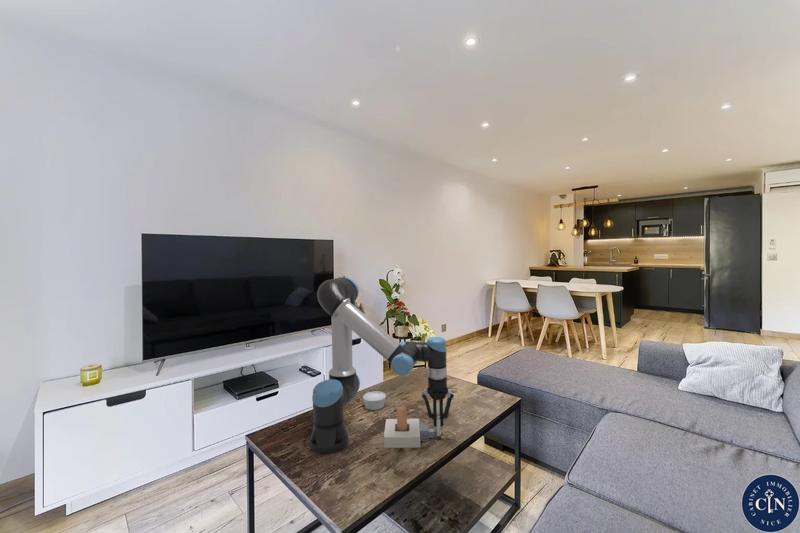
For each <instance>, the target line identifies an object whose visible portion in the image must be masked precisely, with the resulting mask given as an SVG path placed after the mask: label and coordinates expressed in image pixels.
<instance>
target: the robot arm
mask: <svg viewBox="0 0 800 533" xmlns="http://www.w3.org/2000/svg"><path fill="white" fill-rule="evenodd" d="M316 292H317V293H316V297H317V302H318V304H319V305H320V306H321V308H322V309H323V310H324V311H325V312H326V313H327V314H328V315H329V316H331V355H332V356H331V359H332V360H331V361H332V364H331V365H332V367H331V369H330V370H329V372H328V379H326V380H324V381H320V382H318V383H317V384H316V385H315V386H314V387H313V390H312V397H311V399H312V400H311V401H312V411H313V416H312V417H313V427H312V430H311V435H310V439H309V447H310V450H312V451H313V450H314V451H313V452H315V451H316V452H315V453H317V452H319V453H318V454H323V453H326V454H333V453H336V452H339V451H341V450H343V449H344V448H346V447H347V445H348V443H349V441H350V440H349V432H348V428H347V426H346V424H345V422H344V421H345V420H344V408H345V406H347V405H348V403H349V402H351V401H352V399H353V398H354V397H355V396H356V395H357V394H358V392H359V389H360V387H361V379H360V378H359V375H357V369H356V368H355V367H354V365H353V333H355V334H356V335H357V336H358V337H360V338H361V339H362V341H364V342H365V343H366V344H368V346H370V347H371V348H372V349H374V350H375V351H376V352H377V354H379V355H380V356H382V357H383V358H384V359H385V360H387V362H389V363H390V365H391V370H392V371H393V373H394V374H396V375H398V376H400V377H401V376H406V375H408V374H409V373H410V372H411V371H413V370H414V367H415V365H416V364H417V362H427V376H428V377H427V389H426V391H425V392H422V393H421V397H422V399H423V400H424V403H425V406H426V411H427V414H428V416H429V418H430V419H433V420H432V422H433V423H432V424H433V428H434V427H436V430H437V437H438V436H441V434H442V433H441V431H442V430H441V429H442V427H444V419H445V418H448V417H449V412H450V408H451V403H452V399H454V397H455V395H454V393H453V391H449V388H448V377H447V372H448V371H447V352H448V351H447V344H446V339H445V338H443V337H441V336H430V337H428V338H427V340H426V342H425V341H424V342H420V341H410V340H409V341H400V342H398V341H397V340H395V339H394V338H393V337H392V336H391V335H390V334H388V332H386V331H385V330H383V329H382V328H381V327H380V326H379V325H377V323H375V322H374V321H373V320H372V319H370V318H369V316H367V315H366V314H365V313H363V312H362V311H361V310H360V309H359V308H358V307H356V300H357V298H358V296H359V287H358V284H357V283H356V282H355V281H354V280H353V279H352V278H350V277H348V276H347V277H346V276H339V277H336V278H332V279H327V280H324V281H323V282H322V283H321V284H320V285H319V286H318V289H317V291H316ZM429 397H430V399H432V404H433V413H432V412H431V409H430V405H431V404H430V402H429V399H428V398H429ZM445 397H447V399H446V403H445V406H446V407H445V411H444V413H443V404H444V399H445ZM437 401H438V403H439V409H440V416H437V408H436V403H437Z"/></svg>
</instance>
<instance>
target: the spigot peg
mask: <svg viewBox="0 0 800 533" xmlns="http://www.w3.org/2000/svg"><path fill="white" fill-rule="evenodd" d="M407 411H408V410H407V407H406V406H404V405H403V406H398V407H396V419H397V431H407V419H408V412H407Z"/></svg>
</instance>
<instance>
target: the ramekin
mask: <svg viewBox="0 0 800 533" xmlns="http://www.w3.org/2000/svg"><path fill="white" fill-rule="evenodd" d="M386 399H387V395H386V393H385V392H383V391H380V390H379V391H368V392H366V393H365V394H363V396H362V401H363V403H364V407H365V408H366V409H367V410H369V411H379V410H381V409H383V408H384V406H385V404H386Z"/></svg>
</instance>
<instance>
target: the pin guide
mask: <svg viewBox="0 0 800 533" xmlns="http://www.w3.org/2000/svg"><path fill="white" fill-rule="evenodd" d="M419 427H420V442H430V438H429V429H430V428H429V424H427V423H419Z"/></svg>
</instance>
